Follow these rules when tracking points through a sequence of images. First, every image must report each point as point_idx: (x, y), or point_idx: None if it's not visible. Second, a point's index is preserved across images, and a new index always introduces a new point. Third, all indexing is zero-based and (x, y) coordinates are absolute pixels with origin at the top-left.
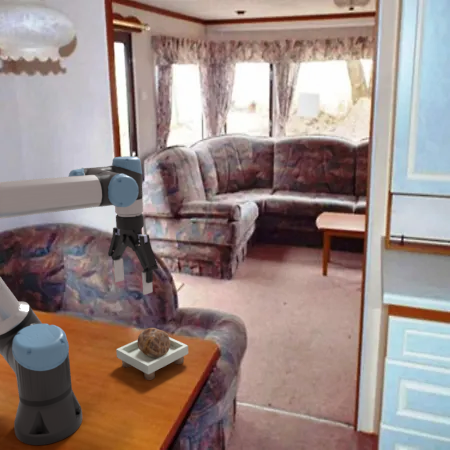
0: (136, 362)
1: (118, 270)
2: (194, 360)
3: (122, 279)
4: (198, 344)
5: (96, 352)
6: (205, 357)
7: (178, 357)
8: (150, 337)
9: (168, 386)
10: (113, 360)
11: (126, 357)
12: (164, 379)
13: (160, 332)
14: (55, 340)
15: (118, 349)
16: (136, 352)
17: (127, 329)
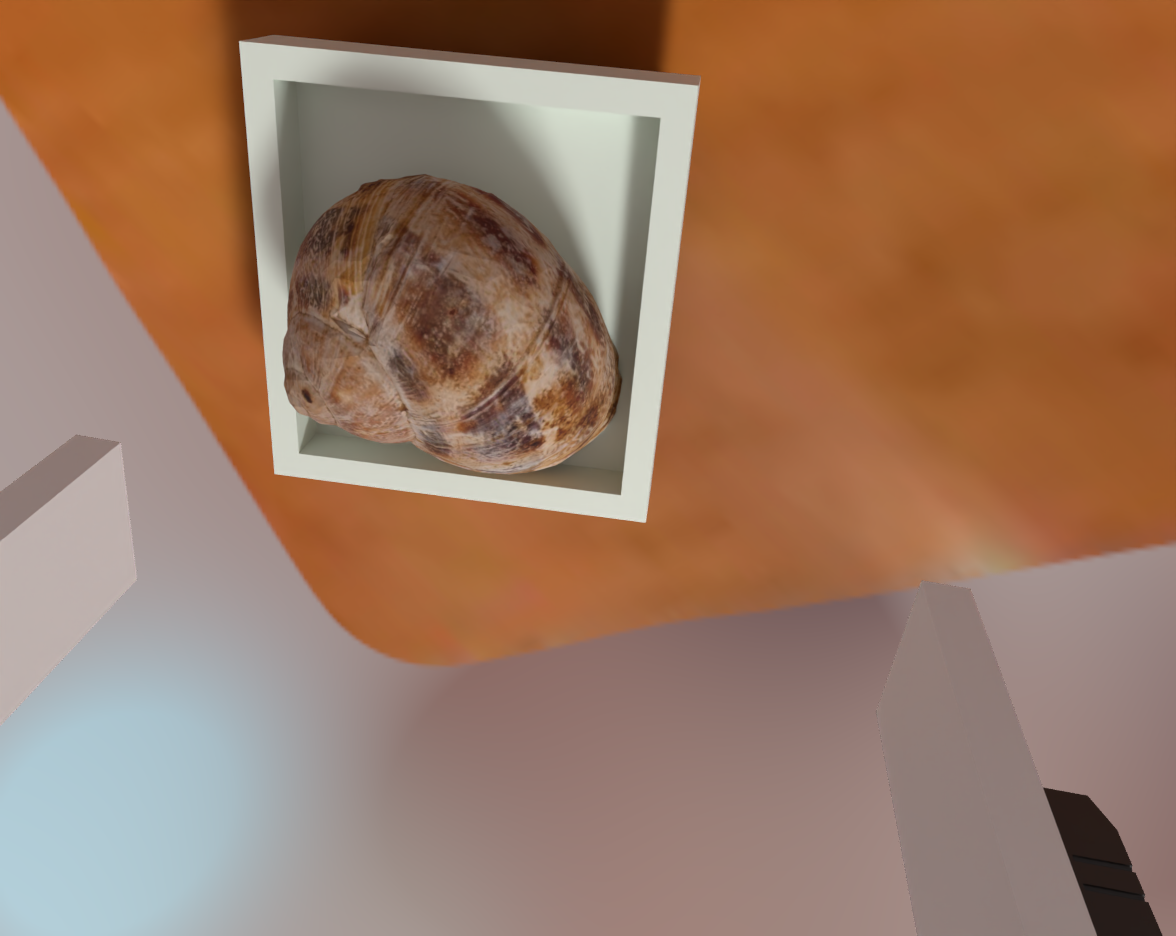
0: (404, 54)
1: (947, 792)
2: None
3: (886, 700)
4: (442, 613)
5: (1034, 113)
6: (283, 511)
7: None
8: (354, 275)
9: (166, 86)
10: (792, 106)
11: (547, 67)
12: None
13: (324, 378)
14: None
15: (676, 95)
16: (587, 217)
17: (1058, 537)
